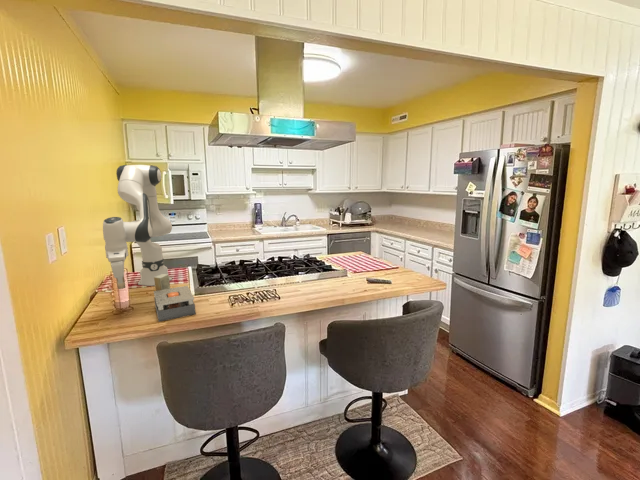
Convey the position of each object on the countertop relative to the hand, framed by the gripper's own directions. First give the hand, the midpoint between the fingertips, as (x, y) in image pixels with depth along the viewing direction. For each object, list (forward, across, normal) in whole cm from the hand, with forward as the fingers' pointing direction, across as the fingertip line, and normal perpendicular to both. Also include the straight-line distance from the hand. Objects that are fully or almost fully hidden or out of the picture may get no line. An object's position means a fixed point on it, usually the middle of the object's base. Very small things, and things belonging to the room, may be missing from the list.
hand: (120, 281), depth 160 cm
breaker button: (+12, +7, +21) cm, 25 cm away
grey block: (+3, 0, 0) cm, 3 cm away
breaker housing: (+16, +8, +21) cm, 28 cm away
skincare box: (+17, -14, +18) cm, 29 cm away
